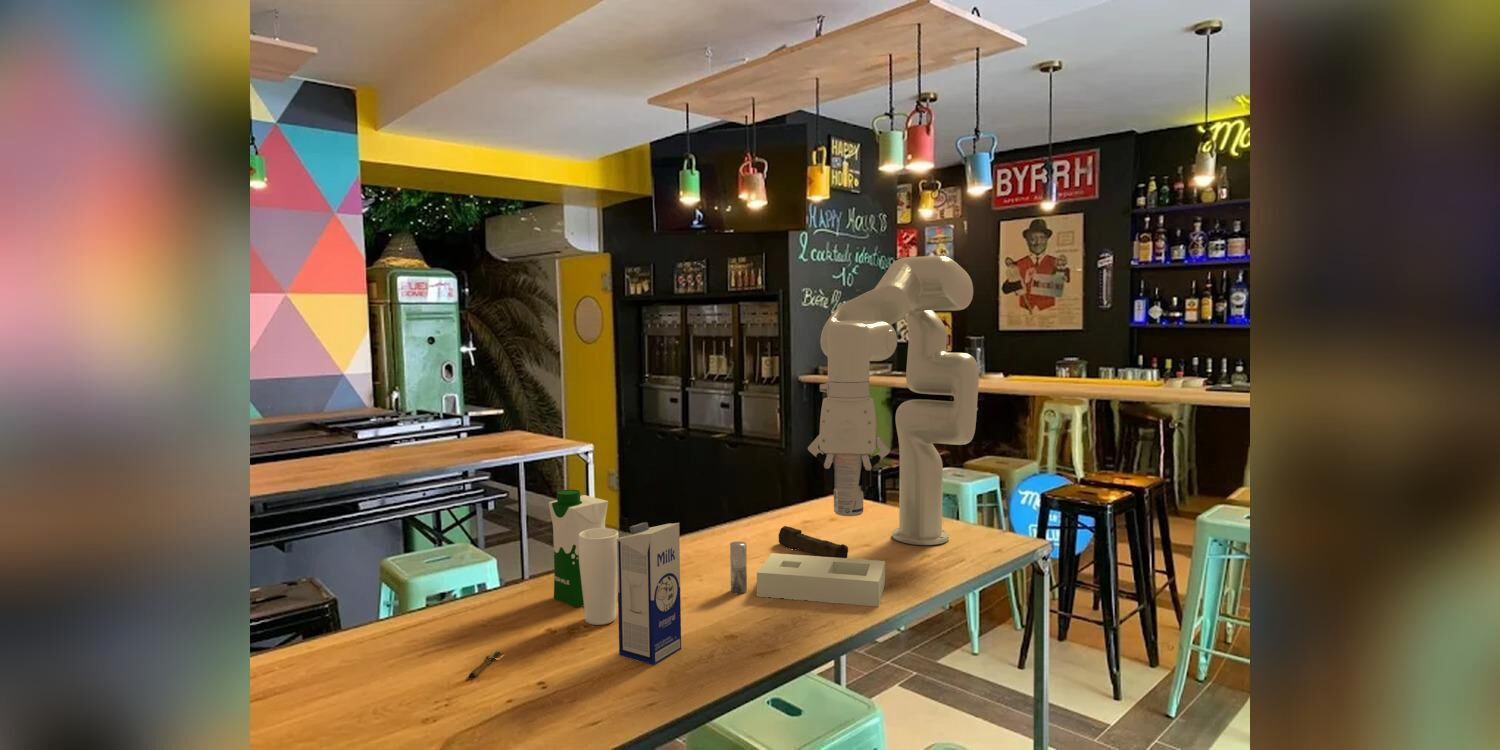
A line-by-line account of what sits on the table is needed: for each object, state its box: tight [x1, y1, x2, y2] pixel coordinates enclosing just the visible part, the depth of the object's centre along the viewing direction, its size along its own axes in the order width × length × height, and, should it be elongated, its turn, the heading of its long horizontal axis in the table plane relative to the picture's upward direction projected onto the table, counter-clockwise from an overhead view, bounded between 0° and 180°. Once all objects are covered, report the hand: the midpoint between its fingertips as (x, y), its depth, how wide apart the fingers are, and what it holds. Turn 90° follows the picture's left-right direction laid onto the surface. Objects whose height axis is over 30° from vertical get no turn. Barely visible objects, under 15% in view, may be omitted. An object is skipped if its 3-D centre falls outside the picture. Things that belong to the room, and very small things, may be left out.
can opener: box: [468, 650, 501, 679], centre depth 119 cm, size 9×2×1 cm, turn 165°
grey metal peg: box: [729, 541, 748, 595], centre depth 149 cm, size 3×3×9 cm
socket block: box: [756, 552, 886, 608], centre depth 149 cm, size 12×22×4 cm, turn 75°
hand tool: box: [778, 525, 849, 558], centre depth 173 cm, size 19×4×5 cm, turn 39°
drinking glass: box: [578, 527, 620, 626], centre depth 135 cm, size 7×7×15 cm
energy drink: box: [833, 454, 864, 517], centre depth 147 cm, size 5×5×12 cm
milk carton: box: [616, 521, 682, 666], centre depth 122 cm, size 7×7×20 cm
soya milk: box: [548, 489, 609, 609], centre depth 146 cm, size 9×9×20 cm
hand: (848, 488), depth 147 cm, fingers closed on energy drink, 5 cm apart
